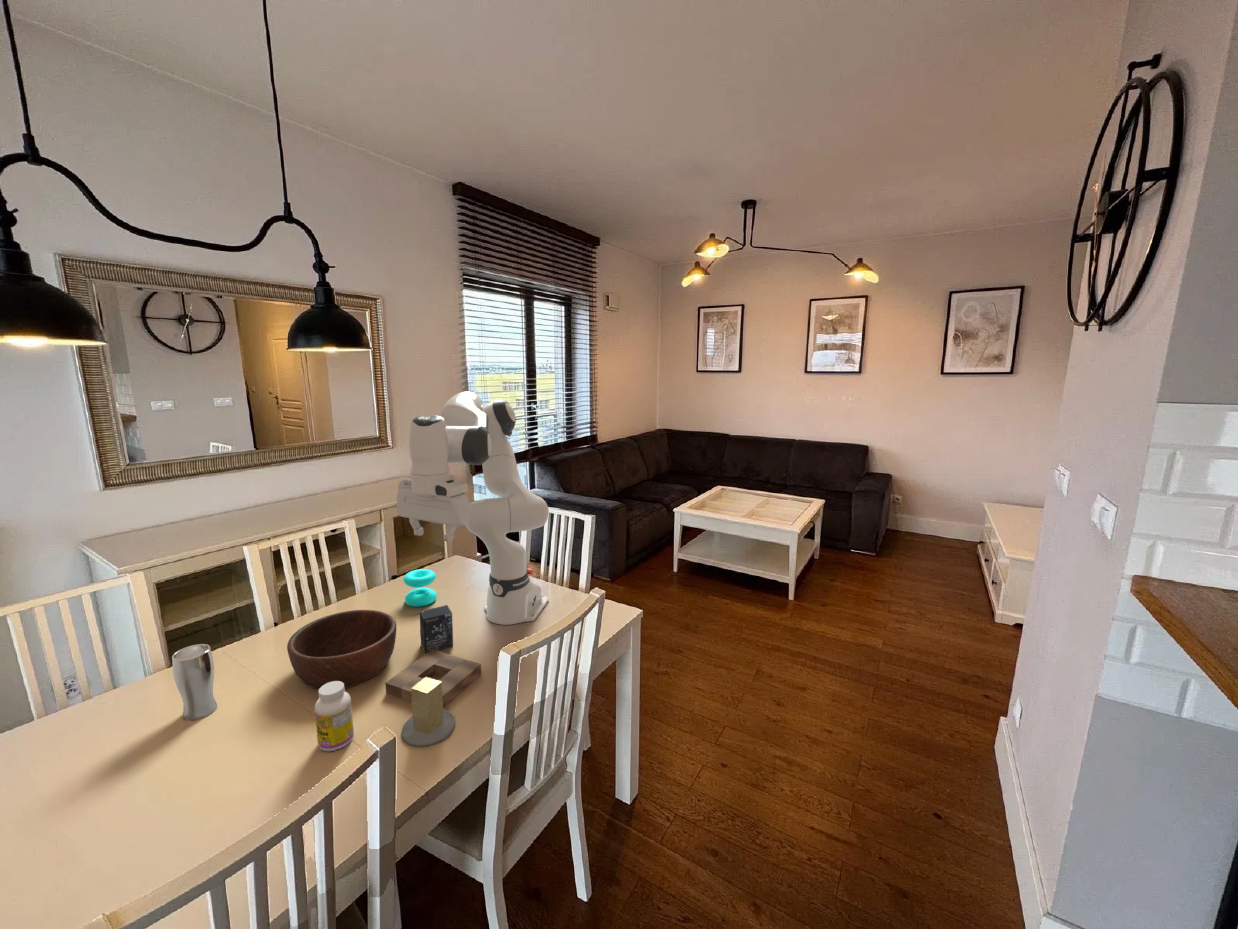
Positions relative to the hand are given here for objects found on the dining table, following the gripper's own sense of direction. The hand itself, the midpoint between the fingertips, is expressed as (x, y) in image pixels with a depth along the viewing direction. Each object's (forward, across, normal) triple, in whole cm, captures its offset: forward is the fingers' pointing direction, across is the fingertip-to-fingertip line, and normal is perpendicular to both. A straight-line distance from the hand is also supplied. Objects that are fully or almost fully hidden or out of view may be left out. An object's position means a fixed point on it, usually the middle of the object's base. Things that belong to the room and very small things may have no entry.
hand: (433, 537), depth 125 cm
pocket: (+37, +2, -4) cm, 37 cm away
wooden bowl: (+37, -24, -8) cm, 45 cm away
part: (+36, +12, -17) cm, 42 cm away
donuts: (+37, -34, +29) cm, 58 cm away
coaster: (+37, +12, -17) cm, 42 cm away
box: (+37, -10, +10) cm, 40 cm away
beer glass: (+37, -39, -34) cm, 64 cm away
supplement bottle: (+37, -3, -28) cm, 47 cm away
